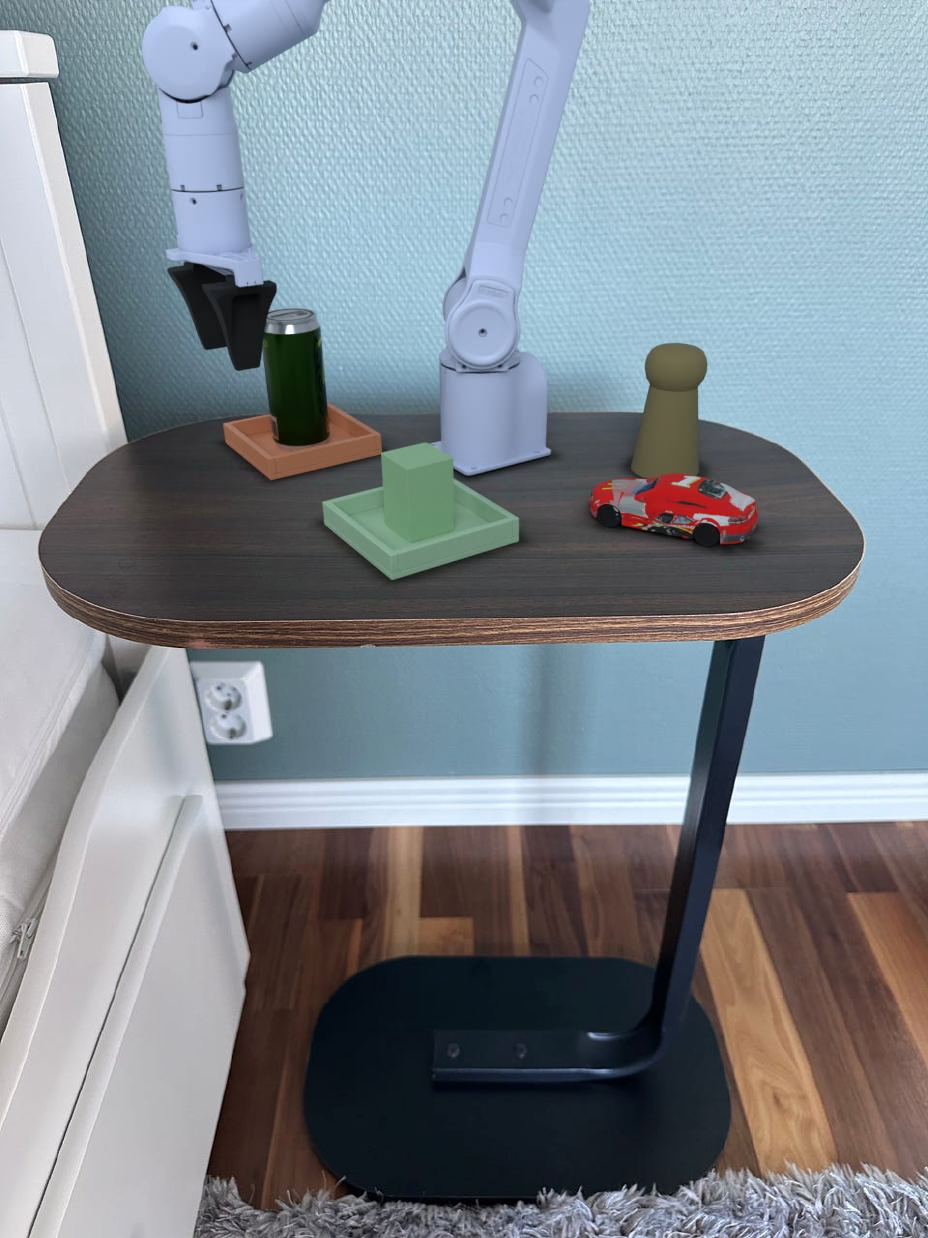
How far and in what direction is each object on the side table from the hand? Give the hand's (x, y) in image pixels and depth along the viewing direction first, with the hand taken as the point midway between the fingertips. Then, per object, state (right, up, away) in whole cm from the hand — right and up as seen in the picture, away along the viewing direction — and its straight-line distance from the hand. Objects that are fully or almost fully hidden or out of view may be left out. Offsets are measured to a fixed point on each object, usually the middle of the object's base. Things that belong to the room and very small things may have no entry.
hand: (231, 357), depth 83 cm
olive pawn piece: (+38, -9, +3) cm, 40 cm away
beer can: (+5, -6, +7) cm, 11 cm away
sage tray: (+17, -16, -8) cm, 25 cm away
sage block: (+17, -16, -9) cm, 25 cm away
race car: (+37, -16, -7) cm, 41 cm away
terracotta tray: (+5, -7, +8) cm, 11 cm away
